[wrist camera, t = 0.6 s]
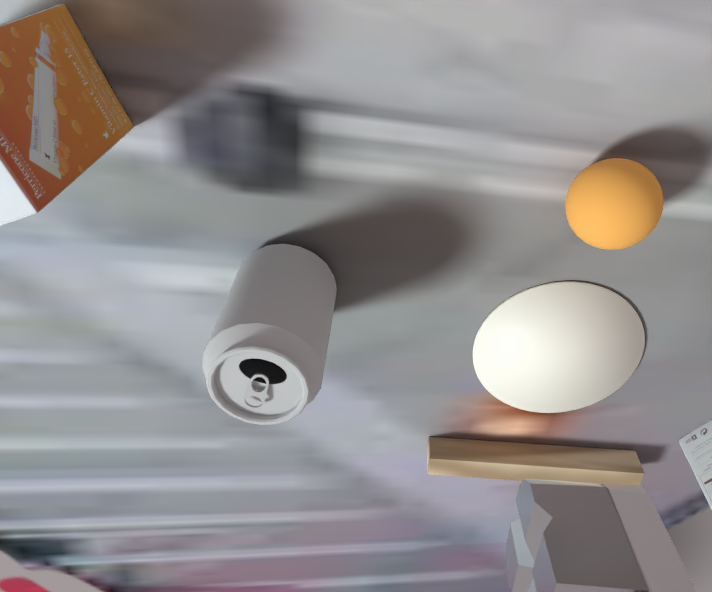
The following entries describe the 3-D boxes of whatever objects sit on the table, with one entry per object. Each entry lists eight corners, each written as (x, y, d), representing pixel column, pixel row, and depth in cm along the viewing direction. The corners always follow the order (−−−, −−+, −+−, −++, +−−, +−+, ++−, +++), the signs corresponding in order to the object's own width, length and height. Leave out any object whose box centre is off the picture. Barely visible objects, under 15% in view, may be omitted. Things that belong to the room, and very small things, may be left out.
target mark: (485, 276, 45) (485, 277, 45) (666, 286, 45) (667, 288, 45) (463, 405, 53) (463, 407, 52) (618, 416, 52) (619, 417, 52)
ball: (567, 142, 39) (589, 177, 35) (657, 146, 39) (691, 183, 34) (549, 221, 42) (567, 263, 38) (632, 225, 42) (660, 268, 38)
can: (350, 255, 45) (335, 362, 35) (322, 332, 49) (301, 447, 39) (250, 224, 44) (206, 325, 34) (230, 305, 48) (185, 416, 38)
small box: (137, 126, 41) (41, 216, 30) (57, 155, 42) (-61, 251, 31) (65, -2, 37) (-76, 50, 26) (-20, 36, 38) (-187, 99, 27)
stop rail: (429, 436, 55) (429, 458, 53) (635, 450, 54) (644, 473, 52) (426, 452, 56) (427, 474, 54) (629, 466, 55) (637, 489, 53)
